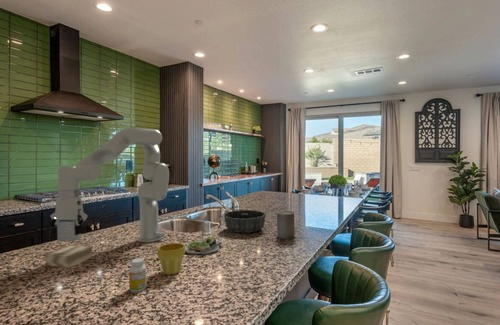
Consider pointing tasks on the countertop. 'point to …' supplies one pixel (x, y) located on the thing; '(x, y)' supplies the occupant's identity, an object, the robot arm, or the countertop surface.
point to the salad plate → (203, 246)
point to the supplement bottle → (137, 275)
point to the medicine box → (67, 231)
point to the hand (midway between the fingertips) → (69, 233)
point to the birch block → (68, 256)
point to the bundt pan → (244, 220)
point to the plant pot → (171, 257)
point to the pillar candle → (285, 224)
